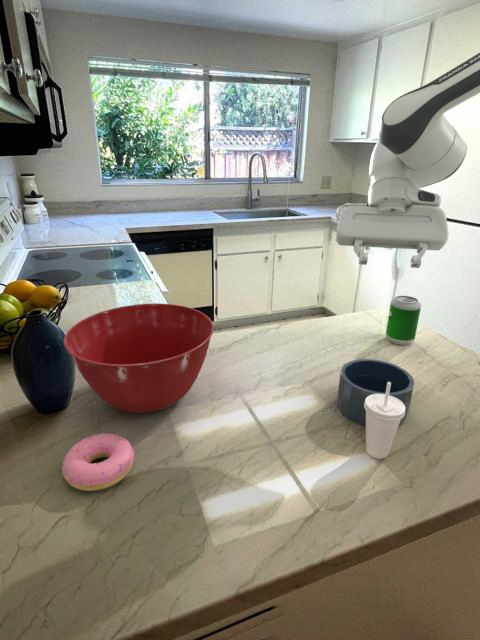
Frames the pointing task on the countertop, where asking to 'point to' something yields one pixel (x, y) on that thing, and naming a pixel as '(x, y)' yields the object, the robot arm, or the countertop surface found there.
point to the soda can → (403, 320)
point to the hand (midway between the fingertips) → (389, 264)
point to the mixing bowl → (141, 353)
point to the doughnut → (98, 474)
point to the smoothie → (382, 422)
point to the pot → (371, 386)
